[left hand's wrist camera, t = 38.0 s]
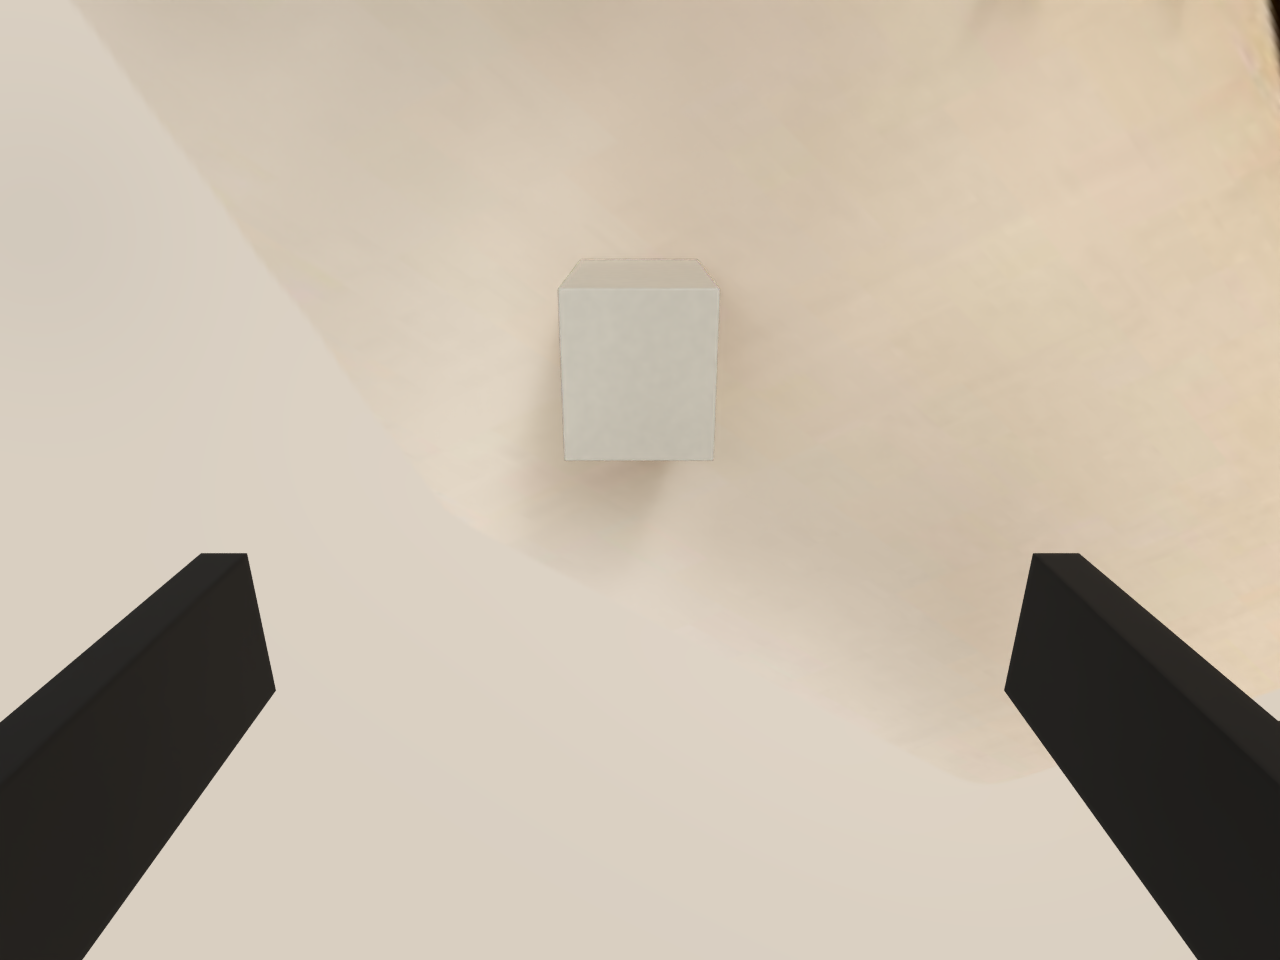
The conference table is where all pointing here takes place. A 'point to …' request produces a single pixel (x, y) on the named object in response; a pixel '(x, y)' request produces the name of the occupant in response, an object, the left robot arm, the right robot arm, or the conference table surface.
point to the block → (638, 360)
